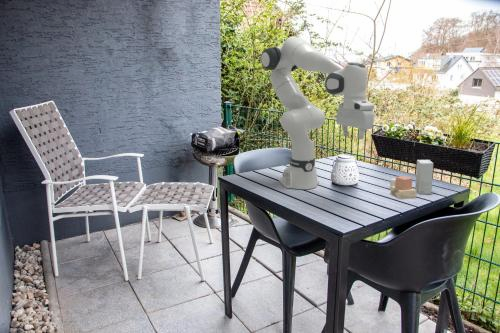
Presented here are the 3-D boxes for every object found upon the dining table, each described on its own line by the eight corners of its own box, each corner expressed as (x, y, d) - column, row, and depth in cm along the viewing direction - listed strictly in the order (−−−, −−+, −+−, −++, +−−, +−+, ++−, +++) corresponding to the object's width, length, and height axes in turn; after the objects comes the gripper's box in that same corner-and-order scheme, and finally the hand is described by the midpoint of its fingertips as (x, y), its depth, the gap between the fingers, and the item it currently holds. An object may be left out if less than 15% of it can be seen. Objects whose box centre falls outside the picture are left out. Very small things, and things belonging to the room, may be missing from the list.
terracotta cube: (394, 187, 174) (395, 177, 173) (402, 186, 176) (403, 175, 175) (403, 190, 169) (404, 179, 168) (411, 188, 171) (412, 178, 170)
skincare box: (431, 194, 174) (434, 163, 171) (417, 194, 176) (420, 162, 172) (427, 189, 182) (430, 159, 179) (414, 188, 184) (416, 158, 180)
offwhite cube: (389, 189, 184) (390, 179, 182) (395, 187, 187) (395, 177, 185) (398, 191, 180) (399, 181, 179) (404, 189, 183) (405, 179, 182)
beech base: (390, 194, 177) (390, 186, 176) (405, 193, 178) (406, 185, 177) (399, 199, 169) (400, 191, 168) (416, 198, 171) (416, 190, 170)
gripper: (333, 102, 163) (332, 134, 166) (364, 106, 144) (362, 141, 148) (345, 102, 165) (344, 133, 168) (377, 105, 147) (375, 140, 150)
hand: (352, 137), depth 158 cm, fingers open, 8 cm apart
